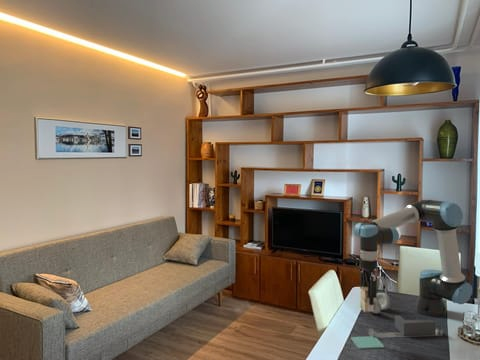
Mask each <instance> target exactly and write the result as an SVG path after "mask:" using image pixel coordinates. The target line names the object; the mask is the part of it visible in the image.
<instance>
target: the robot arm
mask: <svg viewBox="0 0 480 360" xmlns="http://www.w3.org/2000/svg"><path fill="white" fill-rule="evenodd" d="M463 219H464V214H463V210H462V208H461V207H460V205H458V204H457V203H455V202H451V201H441V200H435V199H425V200H420V201H416V202H413V203H410V204H408V205H406V206H405V207H404V208H403V209H400V210H398V211H395V212H392V213H389V214H386V215H384V216H382V217H379V218H376V219H374V220H372V221H369V222H357V223H356V224H355V226H354V229H353V232H354V235H355V236H356V237H357V238H360V241H359V244H360V245H359V246H360V249H359V253H358V254H359V257H360V260H359V267H360V269H359V271H360V280H359V282H360V283H359V286H360V289H359V290H361V287H368V296H367V311H368V312H367V313H370V312H369V311H374V298H376V297H377V293H378V291H377V287H378V286H377V283H378V280H377V276H378V275H375V269H377V268H378V260H377V259H378V255H379V253H378V251H379V250H378V247H379V246H384V245H393V244H396V243H397V242H398V241H399V240H400V233H399V231H398V229H396V228H399V227H401V226H404V225H407V224H409V223H417V222H428V223H431V226H432V229H433V230H434V231H435V232H436V237H437V242H438V243H437V244H438V251H439V256H440V257H439V258H440V265H441V270H438V269H424V270H421V271H420V273H419V295H418V299H417V301H416V304H415V311H416V312H418V313H420V314H422V315H425V316H427V317H435V318H440V317H444V316H446V314H447V310H446V307H445V302H444V300H447V301H449V302H452V303H453V304H458V305H464V304H466V303H467V302H469V300H470V299H471V296H472V294H473V287H472V284H470V283H469V282H467V279H466V275H464V274H463V273H462V268H461V261H460V260H461V259H460V254H459V253H460V251H459V245H458V238H457V231H456V230H458V229H459V227H460V225H461V224H462V222H463Z"/></svg>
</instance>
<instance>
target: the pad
mask: <svg viewBox="0 0 480 360" xmlns="http://www.w3.org/2000/svg"><path fill="white" fill-rule="evenodd" d="M350 340H352V342H353V344H354V345H355V346H356V347H357V349H358V348H359V349H358V350H365V349H367V350H368V349H385V345H384V344H383V342H381V341H380V339H379V338H376V337H372V336H370V335H369V336H351V337H350Z"/></svg>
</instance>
